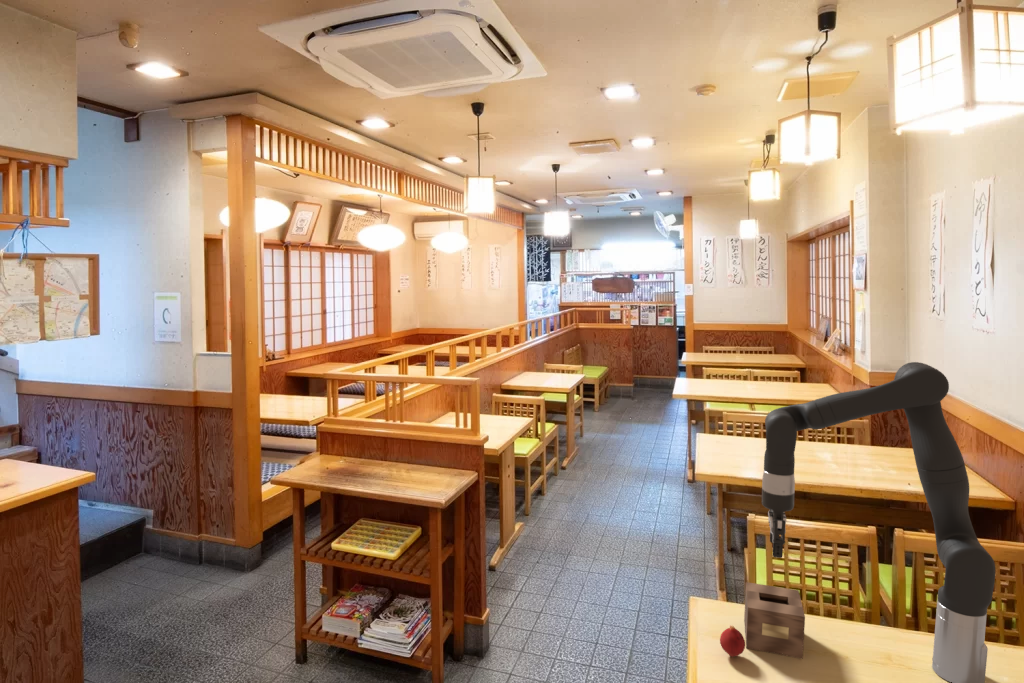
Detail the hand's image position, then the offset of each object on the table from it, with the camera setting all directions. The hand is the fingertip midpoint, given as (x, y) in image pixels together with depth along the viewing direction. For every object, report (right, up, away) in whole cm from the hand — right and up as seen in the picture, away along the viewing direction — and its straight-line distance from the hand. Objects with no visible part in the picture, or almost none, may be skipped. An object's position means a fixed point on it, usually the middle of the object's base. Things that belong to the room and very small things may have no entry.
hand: (775, 549), depth 151 cm
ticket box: (0, -24, +3) cm, 24 cm away
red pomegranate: (-13, -25, -4) cm, 29 cm away
